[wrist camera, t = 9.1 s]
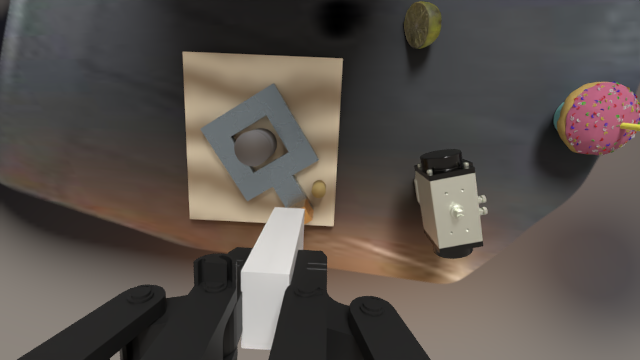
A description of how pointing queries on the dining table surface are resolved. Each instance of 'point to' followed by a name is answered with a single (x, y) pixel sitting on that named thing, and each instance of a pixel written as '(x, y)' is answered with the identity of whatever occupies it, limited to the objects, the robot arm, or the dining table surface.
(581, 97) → the cupcake
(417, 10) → the lime
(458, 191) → the pneumatic valve
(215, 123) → the flange plate
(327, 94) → the post board
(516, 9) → the dining table surface
